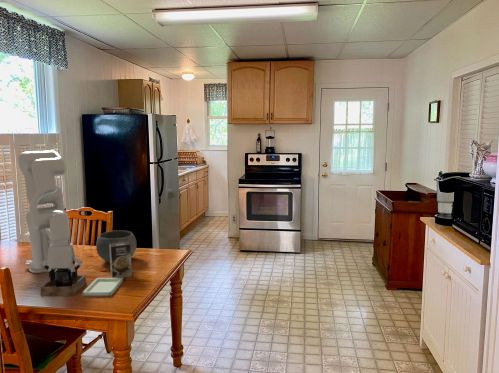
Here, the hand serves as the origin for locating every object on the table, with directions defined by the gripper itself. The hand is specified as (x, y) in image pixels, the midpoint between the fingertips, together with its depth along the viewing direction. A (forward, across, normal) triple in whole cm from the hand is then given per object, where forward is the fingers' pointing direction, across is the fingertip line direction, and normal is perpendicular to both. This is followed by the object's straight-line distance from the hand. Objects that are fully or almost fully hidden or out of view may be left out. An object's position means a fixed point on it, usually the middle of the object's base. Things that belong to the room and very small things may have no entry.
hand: (63, 279), depth 169 cm
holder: (+5, 0, 0) cm, 5 cm away
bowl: (+5, +11, +37) cm, 39 cm away
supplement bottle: (+5, 0, 0) cm, 5 cm away
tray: (+5, +17, +1) cm, 18 cm away
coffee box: (+5, +20, +16) cm, 26 cm away
